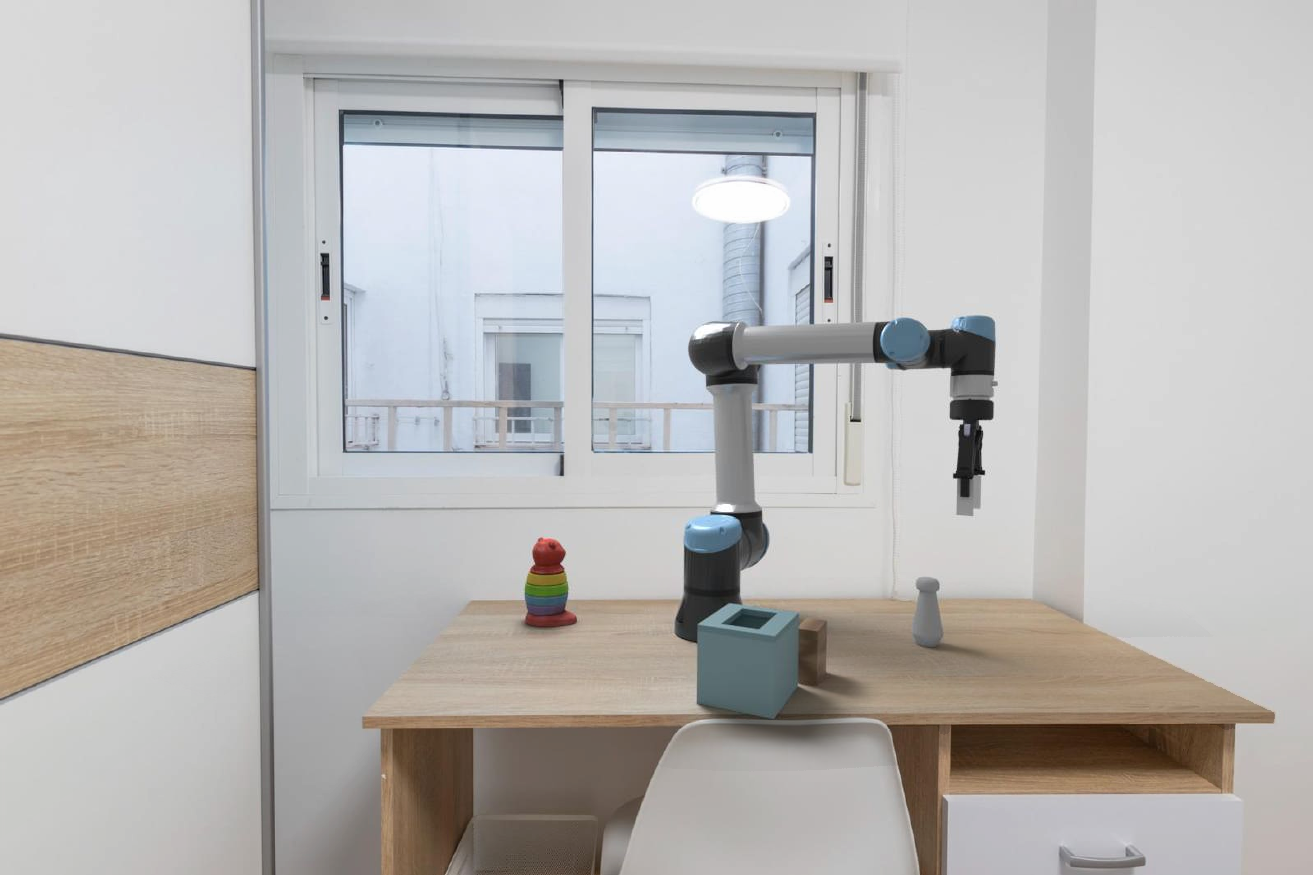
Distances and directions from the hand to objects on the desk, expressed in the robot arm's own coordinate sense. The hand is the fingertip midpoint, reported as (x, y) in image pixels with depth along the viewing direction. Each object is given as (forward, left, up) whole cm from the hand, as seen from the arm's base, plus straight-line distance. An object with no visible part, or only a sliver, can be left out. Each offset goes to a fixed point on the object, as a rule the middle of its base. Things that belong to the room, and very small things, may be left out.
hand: (968, 511), depth 124 cm
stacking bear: (-82, -21, -27) cm, 88 cm away
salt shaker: (-7, +2, -27) cm, 28 cm away
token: (-23, -26, -27) cm, 44 cm away
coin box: (-30, -39, -27) cm, 56 cm away
